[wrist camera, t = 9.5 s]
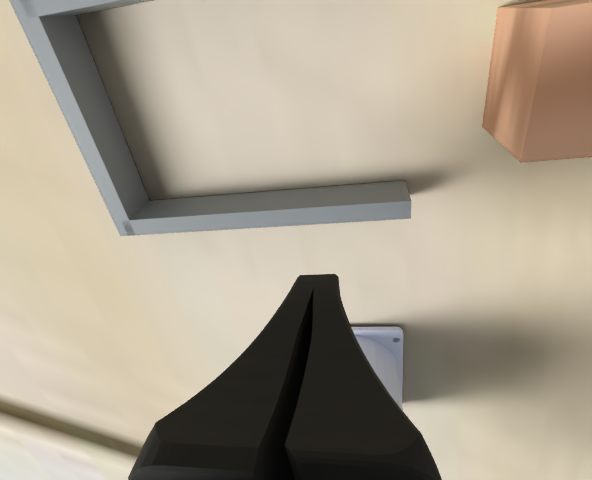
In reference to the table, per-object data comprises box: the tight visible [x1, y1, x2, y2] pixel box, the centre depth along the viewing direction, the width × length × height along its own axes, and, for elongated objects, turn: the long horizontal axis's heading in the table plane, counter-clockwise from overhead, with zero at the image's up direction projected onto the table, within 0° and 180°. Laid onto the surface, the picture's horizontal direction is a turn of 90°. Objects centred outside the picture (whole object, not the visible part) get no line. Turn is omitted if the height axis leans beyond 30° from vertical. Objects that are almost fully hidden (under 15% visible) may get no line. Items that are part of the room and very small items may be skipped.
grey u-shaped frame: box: [10, 0, 411, 236], centre depth 18 cm, size 12×16×2 cm
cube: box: [482, 0, 592, 162], centre depth 14 cm, size 5×5×5 cm
